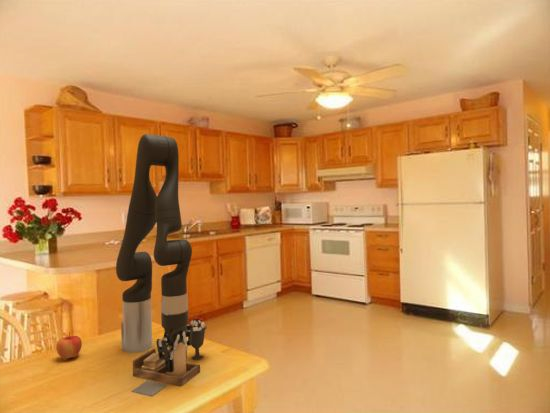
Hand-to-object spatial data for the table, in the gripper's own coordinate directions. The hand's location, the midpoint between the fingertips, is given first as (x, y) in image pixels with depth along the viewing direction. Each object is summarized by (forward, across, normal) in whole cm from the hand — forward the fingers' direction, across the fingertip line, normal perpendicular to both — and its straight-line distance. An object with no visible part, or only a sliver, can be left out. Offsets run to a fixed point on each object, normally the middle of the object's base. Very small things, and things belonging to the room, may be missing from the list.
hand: (176, 366), depth 110 cm
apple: (+3, +2, -42) cm, 42 cm away
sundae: (+3, -13, -2) cm, 13 cm away
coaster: (+3, +8, -2) cm, 9 cm away
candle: (+3, 0, 0) cm, 3 cm away
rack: (+3, 0, -4) cm, 5 cm away
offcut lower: (+3, 0, -8) cm, 8 cm away
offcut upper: (0, 0, -8) cm, 8 cm away
